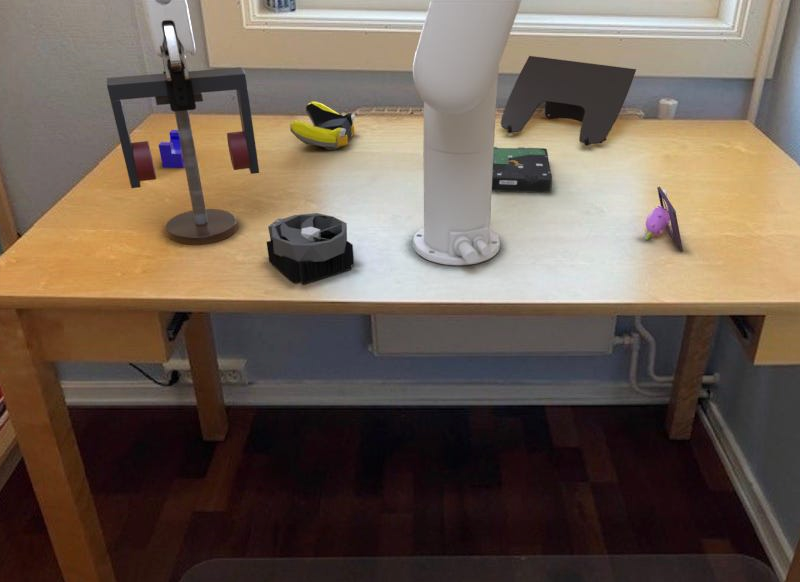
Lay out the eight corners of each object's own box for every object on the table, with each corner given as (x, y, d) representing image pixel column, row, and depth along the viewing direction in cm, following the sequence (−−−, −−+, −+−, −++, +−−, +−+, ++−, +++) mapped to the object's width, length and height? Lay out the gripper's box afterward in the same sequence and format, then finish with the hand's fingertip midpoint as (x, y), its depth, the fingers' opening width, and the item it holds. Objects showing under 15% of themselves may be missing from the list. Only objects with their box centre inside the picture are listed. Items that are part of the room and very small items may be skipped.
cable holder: (183, 167, 137) (179, 145, 134) (162, 167, 136) (158, 145, 134) (195, 151, 143) (191, 130, 141) (175, 151, 143) (171, 129, 141)
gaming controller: (289, 152, 144) (342, 155, 143) (286, 123, 141) (340, 126, 140) (310, 126, 156) (359, 129, 156) (307, 99, 153) (358, 101, 152)
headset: (260, 175, 112) (246, 75, 104) (131, 190, 107) (106, 86, 99) (254, 162, 116) (240, 65, 108) (130, 177, 111) (106, 76, 103)
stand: (241, 239, 114) (221, 101, 103) (169, 249, 111) (140, 108, 100) (232, 212, 122) (212, 81, 110) (165, 220, 119) (137, 86, 107)
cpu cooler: (360, 231, 104) (291, 251, 99) (362, 269, 107) (296, 290, 102) (322, 205, 111) (256, 222, 106) (326, 241, 114) (261, 260, 109)
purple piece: (680, 209, 110) (664, 184, 118) (644, 220, 111) (630, 195, 118) (688, 249, 114) (671, 223, 121) (652, 260, 115) (638, 233, 122)
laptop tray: (495, 158, 160) (490, 124, 153) (531, 82, 170) (528, 46, 163) (605, 176, 153) (605, 142, 146) (635, 96, 163) (637, 60, 156)
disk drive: (552, 194, 131) (545, 161, 143) (553, 178, 129) (546, 146, 141) (490, 193, 131) (489, 160, 143) (491, 177, 129) (489, 145, 141)
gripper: (192, -37, 90) (218, 120, 101) (180, -55, 103) (204, 86, 113) (122, -34, 88) (156, 127, 98) (120, -53, 101) (150, 91, 111)
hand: (182, 103), depth 106 cm, fingers closed on headset, 3 cm apart
